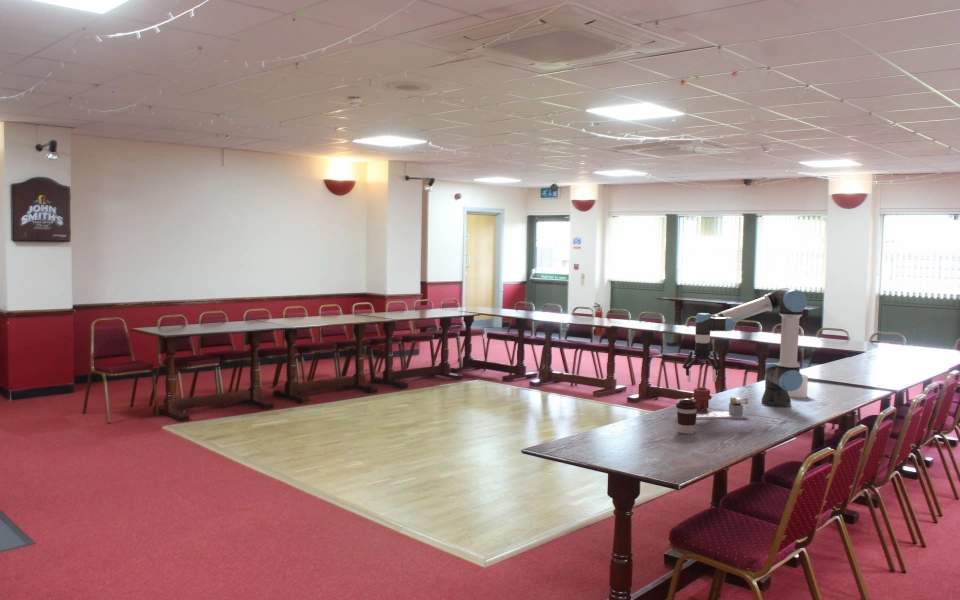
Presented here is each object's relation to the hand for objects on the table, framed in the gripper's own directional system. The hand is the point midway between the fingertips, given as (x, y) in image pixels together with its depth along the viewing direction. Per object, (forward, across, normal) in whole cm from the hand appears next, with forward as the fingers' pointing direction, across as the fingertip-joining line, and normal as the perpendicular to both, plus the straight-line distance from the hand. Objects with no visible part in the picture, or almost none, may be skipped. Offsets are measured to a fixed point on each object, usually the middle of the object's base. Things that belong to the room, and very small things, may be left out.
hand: (701, 381), depth 402 cm
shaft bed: (+16, -2, +14) cm, 21 cm away
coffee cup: (+16, +22, +47) cm, 54 cm away
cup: (+15, -68, -35) cm, 78 cm away
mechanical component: (+16, 0, 0) cm, 16 cm away
